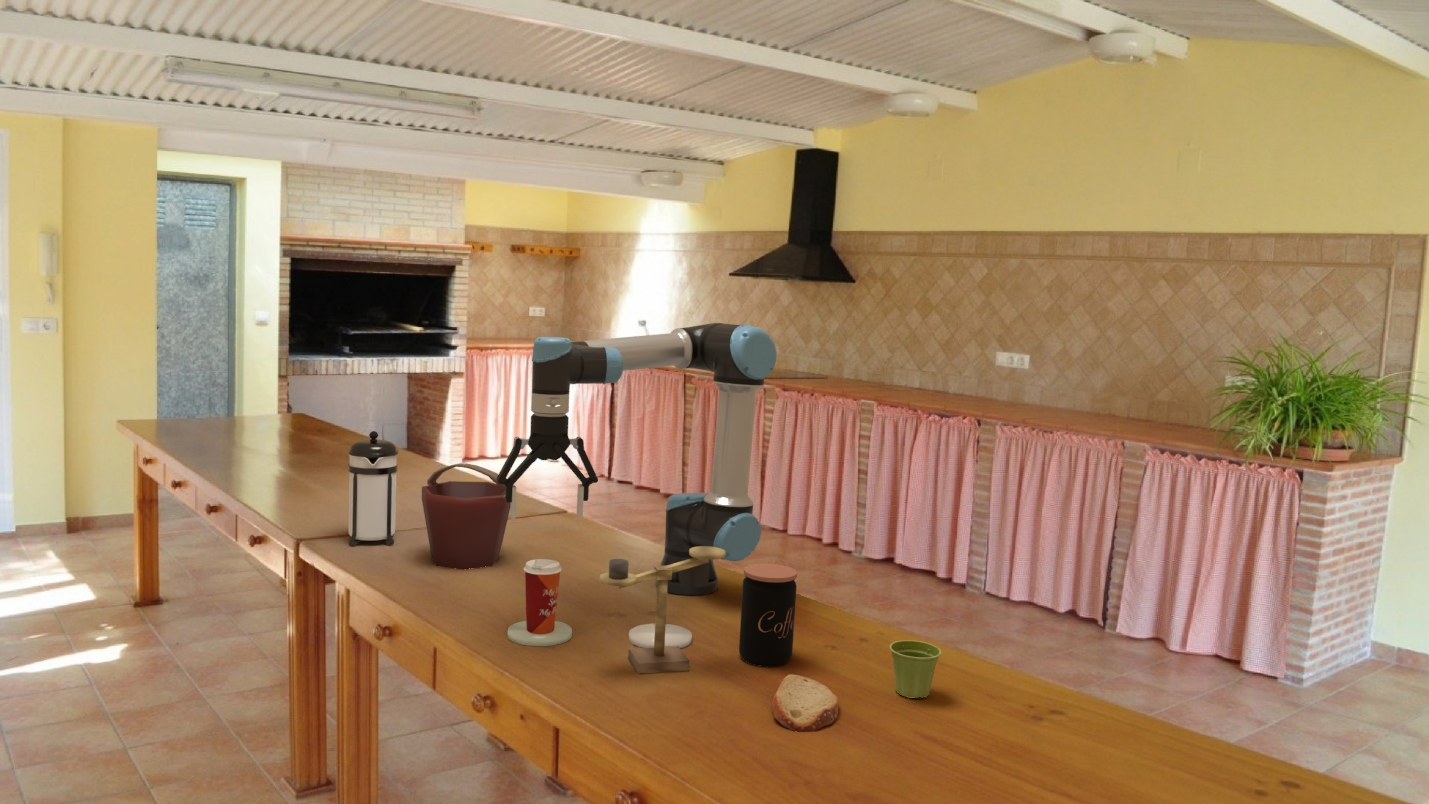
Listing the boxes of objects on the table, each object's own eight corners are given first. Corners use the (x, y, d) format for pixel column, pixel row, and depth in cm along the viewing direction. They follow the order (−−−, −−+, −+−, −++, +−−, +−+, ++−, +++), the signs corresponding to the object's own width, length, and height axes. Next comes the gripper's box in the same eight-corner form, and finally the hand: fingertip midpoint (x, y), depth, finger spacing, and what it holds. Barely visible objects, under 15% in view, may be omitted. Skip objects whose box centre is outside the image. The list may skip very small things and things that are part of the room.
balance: (712, 653, 209) (718, 545, 207) (724, 668, 202) (731, 555, 199) (592, 660, 202) (596, 548, 199) (600, 676, 194) (605, 559, 192)
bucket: (528, 564, 268) (532, 467, 265) (456, 579, 251) (459, 476, 248) (470, 545, 283) (472, 454, 280) (398, 558, 266) (400, 461, 264)
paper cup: (551, 637, 210) (554, 569, 208) (515, 633, 211) (518, 565, 210) (564, 626, 217) (567, 560, 216) (529, 621, 219) (532, 556, 217)
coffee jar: (755, 670, 201) (760, 580, 199) (728, 652, 211) (733, 565, 209) (802, 664, 206) (807, 575, 204) (774, 646, 216) (779, 561, 214)
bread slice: (799, 681, 198) (800, 662, 197) (871, 714, 184) (873, 694, 184) (728, 702, 186) (729, 681, 186) (799, 738, 173) (801, 716, 172)
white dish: (681, 627, 224) (682, 622, 224) (699, 648, 212) (699, 642, 212) (622, 630, 220) (622, 625, 220) (636, 651, 208) (637, 646, 208)
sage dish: (566, 623, 223) (566, 618, 222) (576, 644, 210) (577, 638, 210) (504, 626, 219) (504, 621, 219) (511, 648, 206) (511, 642, 206)
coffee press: (415, 540, 285) (417, 431, 282) (367, 551, 271) (369, 437, 268) (372, 529, 294) (374, 424, 291) (324, 539, 281) (326, 429, 277)
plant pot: (927, 708, 188) (930, 661, 187) (878, 695, 192) (881, 649, 192) (945, 692, 195) (948, 647, 195) (897, 680, 200) (901, 636, 199)
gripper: (488, 416, 203) (486, 523, 205) (614, 417, 210) (610, 520, 213) (484, 410, 210) (482, 514, 212) (606, 412, 218) (603, 511, 220)
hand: (546, 517), depth 213 cm, fingers open, 13 cm apart
